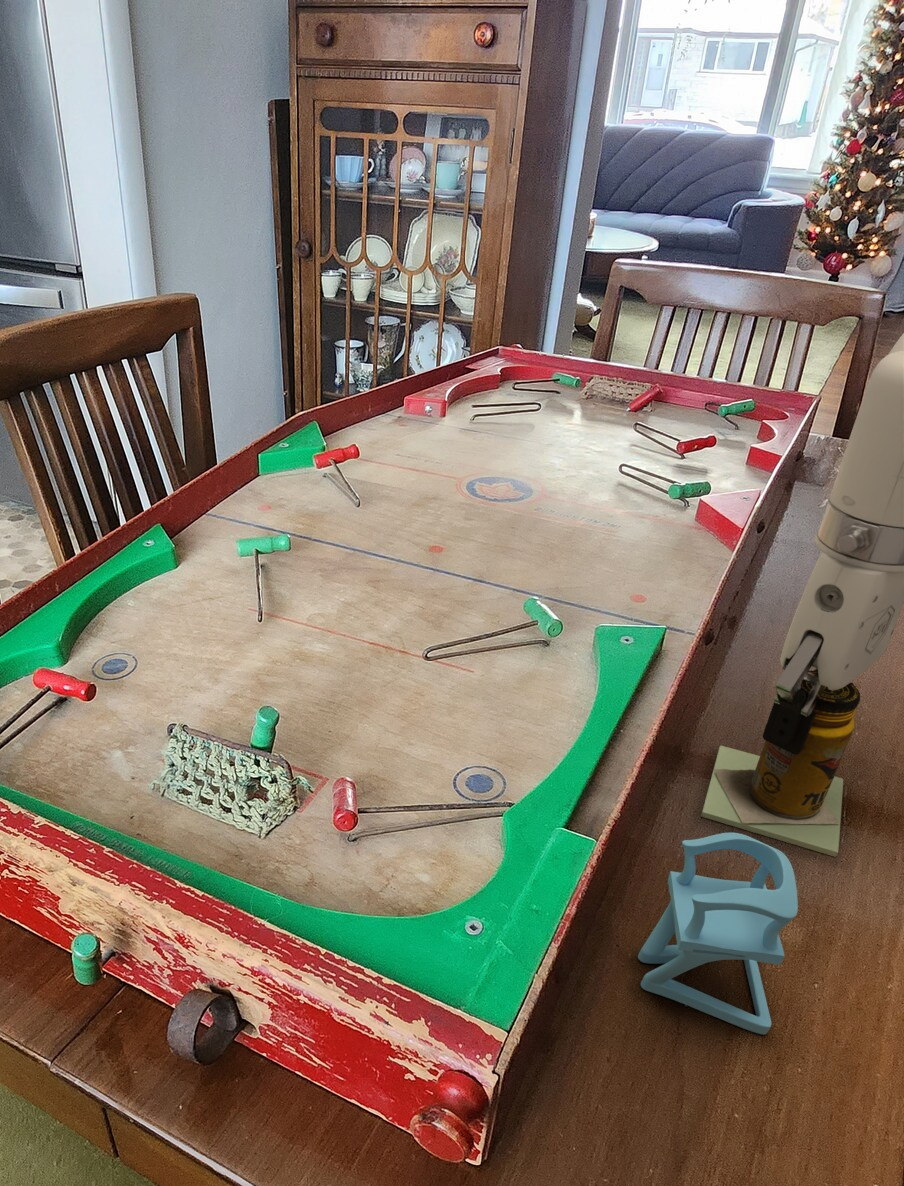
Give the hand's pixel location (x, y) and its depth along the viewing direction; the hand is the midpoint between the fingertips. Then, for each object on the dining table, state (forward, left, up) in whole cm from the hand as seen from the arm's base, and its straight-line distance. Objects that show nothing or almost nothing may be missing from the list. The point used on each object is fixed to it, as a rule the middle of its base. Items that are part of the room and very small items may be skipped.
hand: (800, 728), depth 77 cm
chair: (+12, +21, -8) cm, 26 cm away
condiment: (0, +1, -7) cm, 7 cm away
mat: (0, 0, -8) cm, 8 cm away
